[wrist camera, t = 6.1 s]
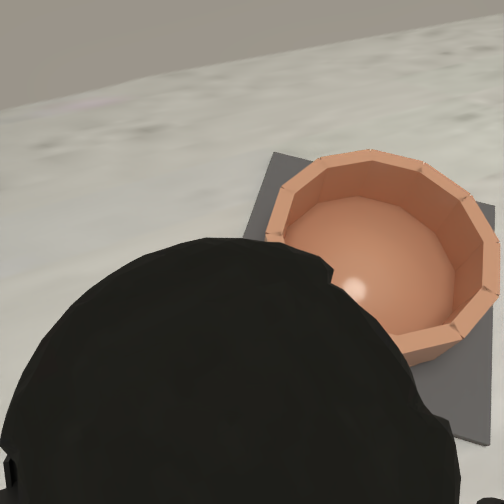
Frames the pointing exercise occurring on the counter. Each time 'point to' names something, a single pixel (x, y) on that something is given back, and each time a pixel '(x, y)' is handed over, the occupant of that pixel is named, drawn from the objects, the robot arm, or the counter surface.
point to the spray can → (224, 391)
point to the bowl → (395, 244)
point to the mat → (427, 373)
